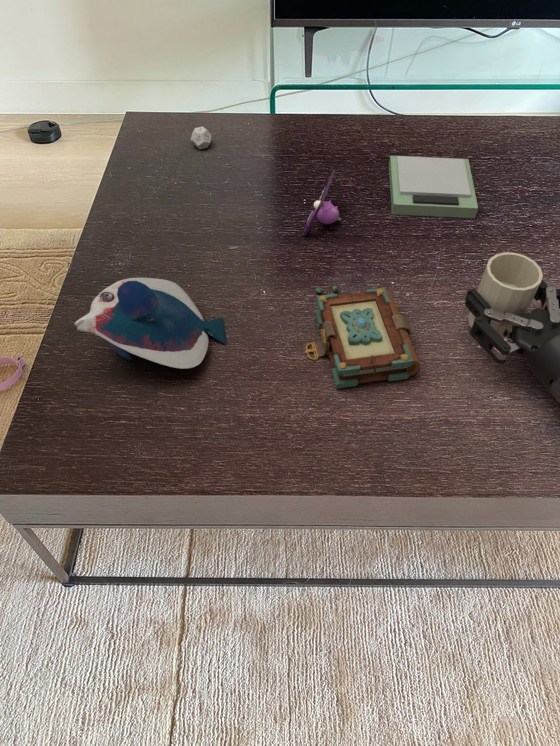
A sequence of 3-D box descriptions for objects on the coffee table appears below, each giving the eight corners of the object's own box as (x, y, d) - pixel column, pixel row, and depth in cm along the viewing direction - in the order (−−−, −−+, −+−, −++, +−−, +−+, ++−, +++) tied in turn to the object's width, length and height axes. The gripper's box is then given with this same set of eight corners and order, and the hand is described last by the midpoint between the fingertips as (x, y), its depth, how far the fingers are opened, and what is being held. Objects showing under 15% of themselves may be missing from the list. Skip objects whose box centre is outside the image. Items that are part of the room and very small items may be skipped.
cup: (512, 308, 85) (537, 253, 77) (520, 345, 81) (547, 291, 73) (464, 306, 86) (483, 251, 78) (470, 342, 82) (491, 288, 74)
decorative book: (381, 282, 88) (386, 255, 84) (419, 379, 78) (427, 354, 74) (289, 293, 87) (290, 266, 83) (315, 394, 76) (317, 369, 72)
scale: (465, 169, 105) (469, 155, 103) (475, 218, 97) (479, 204, 95) (388, 165, 105) (390, 152, 103) (391, 214, 98) (394, 200, 96)
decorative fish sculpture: (88, 314, 65) (88, 221, 74) (61, 384, 73) (64, 293, 82) (254, 346, 74) (237, 260, 83) (214, 404, 82) (202, 320, 91)
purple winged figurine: (329, 166, 94) (314, 202, 89) (359, 181, 94) (347, 218, 89) (312, 198, 99) (298, 234, 94) (341, 213, 100) (329, 249, 95)
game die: (214, 141, 110) (213, 125, 107) (208, 152, 107) (207, 137, 105) (195, 138, 110) (193, 122, 108) (189, 150, 108) (187, 134, 106)
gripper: (644, 335, 70) (550, 247, 79) (542, 376, 66) (456, 279, 75) (615, 376, 76) (531, 289, 85) (520, 415, 72) (443, 320, 81)
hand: (496, 284), depth 80 cm, fingers open, 8 cm apart
